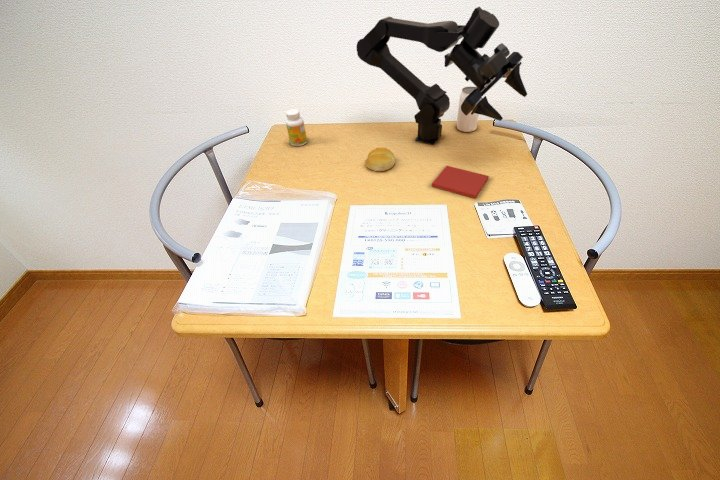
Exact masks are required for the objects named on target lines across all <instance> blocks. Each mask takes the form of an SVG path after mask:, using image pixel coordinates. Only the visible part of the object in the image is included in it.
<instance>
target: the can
mask: <svg viewBox="0 0 720 480" xmlns="http://www.w3.org/2000/svg"><path fill="white" fill-rule="evenodd" d="M474 89H477V87H476V86H464V87H462V89H461V92H460V94H459V100H458V107H457V118H456V129H457V130H458V131H459V132H462V133H472V132H475V130H477V128H478V127H477V126H478V122H479V115H480V114H476V113H474V114H473V115H472V114H471V112H472V111H471V112H470V113H469V114H468V115H467V116H466V115H465V114H464V113H463V112H462V110H461V105H462V103H463V101H464V100H465V98H466V97H467V96H468V95H469V94H470V93H471V92H472V91H473V90H474Z"/></svg>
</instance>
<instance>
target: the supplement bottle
mask: <svg viewBox="0 0 720 480" xmlns="http://www.w3.org/2000/svg"><path fill="white" fill-rule="evenodd" d="M285 115H286V116H285V117H286V120H285V126H286V129H287V134H288V138H289V139H288V140H289V144H290V145H292V146H294V147H302V146H304V145H306V144H307V143H308V138H307V132H306V127H305V126H306V125H305V121H304V119H303V117H301V113H300V110H299V109H296V108H293V109H288V110H287V111H286V112H285Z"/></svg>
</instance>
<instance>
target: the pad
mask: <svg viewBox="0 0 720 480" xmlns="http://www.w3.org/2000/svg"><path fill="white" fill-rule="evenodd" d="M488 180H489V175H486V174H482V173H479V172H474V171H470V170H466V169H462V168H458V167H454V166H451V165H446V166H445V167H444V169H443V170H441V172H440V173H439V174H438V176H437V177H436V178H435V179H434V180H433V181H432V183H431V187H432V188H435V189H439V190H443V191H446V192H451V193H454V194H457V195H460V196H464V197H468V198H472V199H476V198H477V196H478V195H479V194H480V192H481V191H482V189H483V188H484V186H485V184H487V182H488Z"/></svg>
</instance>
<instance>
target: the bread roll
mask: <svg viewBox="0 0 720 480" xmlns="http://www.w3.org/2000/svg"><path fill="white" fill-rule="evenodd" d="M395 163H396V156H395V153H394V152H393V151H392V150H390V149H388V148H387V147H376V148H374V149H371V151H369V152H368V154H367V157H366V159H365V160H364V165H365V167H366V168H368V169H369V170H371V171H375V172H384V171H387V170H389V169H391V168H393V167H394V166H395Z"/></svg>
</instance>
